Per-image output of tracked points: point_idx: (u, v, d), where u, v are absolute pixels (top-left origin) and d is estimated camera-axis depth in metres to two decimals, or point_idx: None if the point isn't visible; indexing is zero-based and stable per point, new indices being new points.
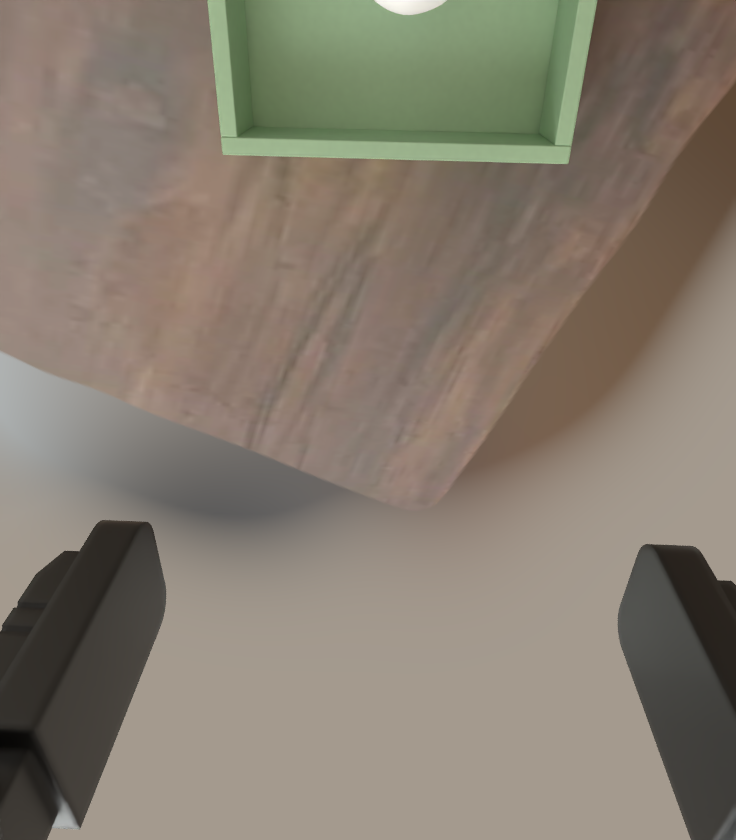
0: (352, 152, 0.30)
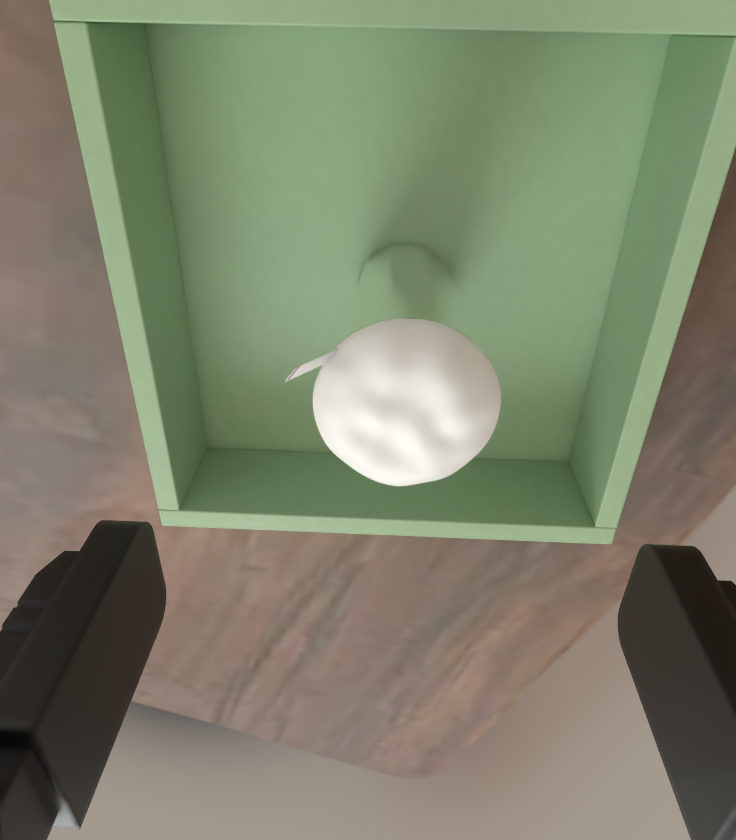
0: (329, 527, 0.23)
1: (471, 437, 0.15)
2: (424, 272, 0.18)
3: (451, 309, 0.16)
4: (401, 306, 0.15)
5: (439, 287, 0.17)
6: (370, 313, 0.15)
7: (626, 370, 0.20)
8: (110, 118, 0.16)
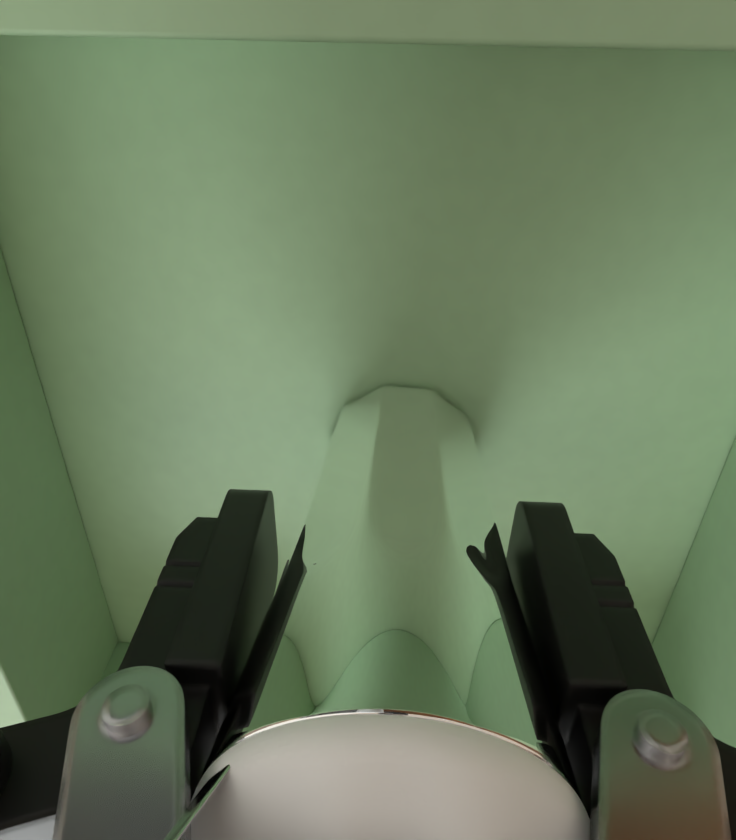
0: None
1: None
2: (433, 478, 0.10)
3: (485, 616, 0.08)
4: (379, 641, 0.07)
5: (460, 520, 0.09)
6: (312, 651, 0.07)
7: None
8: None
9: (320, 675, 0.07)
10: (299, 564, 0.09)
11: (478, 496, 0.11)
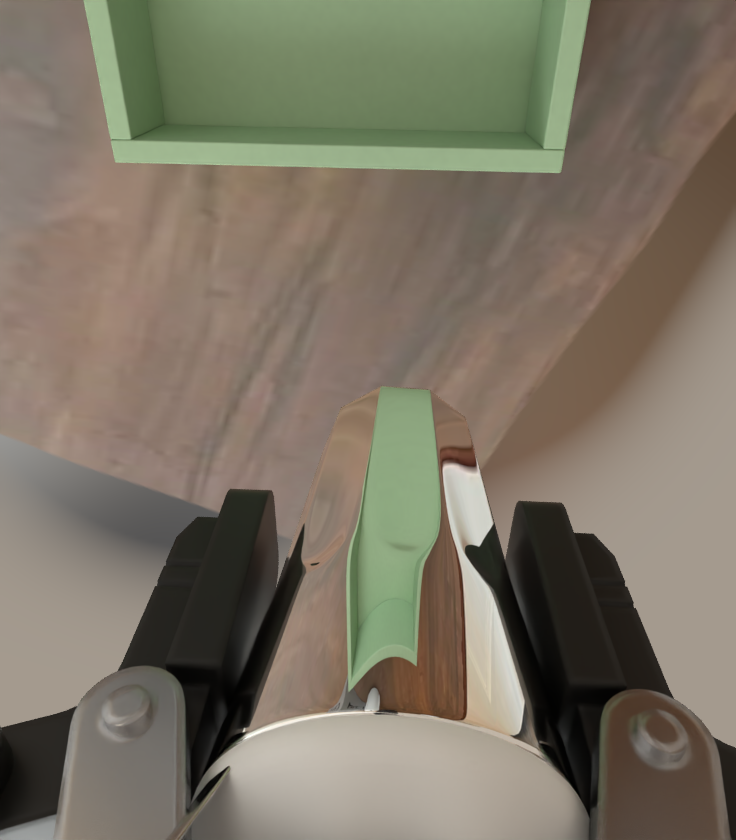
0: (280, 158, 0.23)
1: None
2: (431, 478, 0.10)
3: (484, 616, 0.08)
4: (378, 642, 0.07)
5: (458, 520, 0.09)
6: (312, 652, 0.07)
7: None
8: None
9: (320, 676, 0.07)
10: (298, 565, 0.09)
11: (476, 496, 0.11)
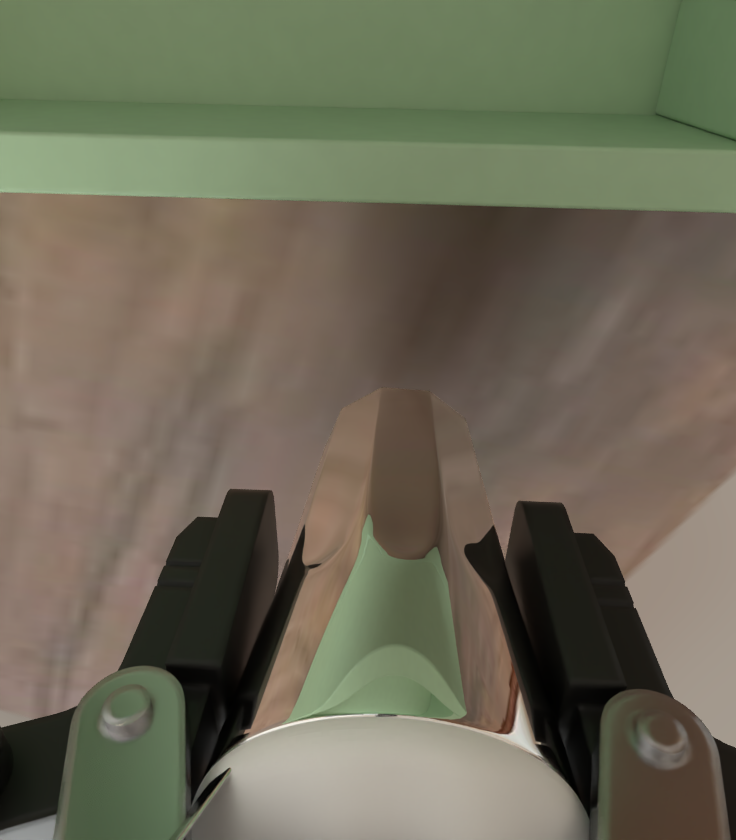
0: (40, 172, 0.09)
1: None
2: (431, 480, 0.10)
3: (484, 618, 0.08)
4: (379, 644, 0.07)
5: (458, 522, 0.09)
6: (313, 654, 0.07)
7: None
8: None
9: (320, 678, 0.07)
10: (298, 567, 0.09)
11: (476, 498, 0.11)
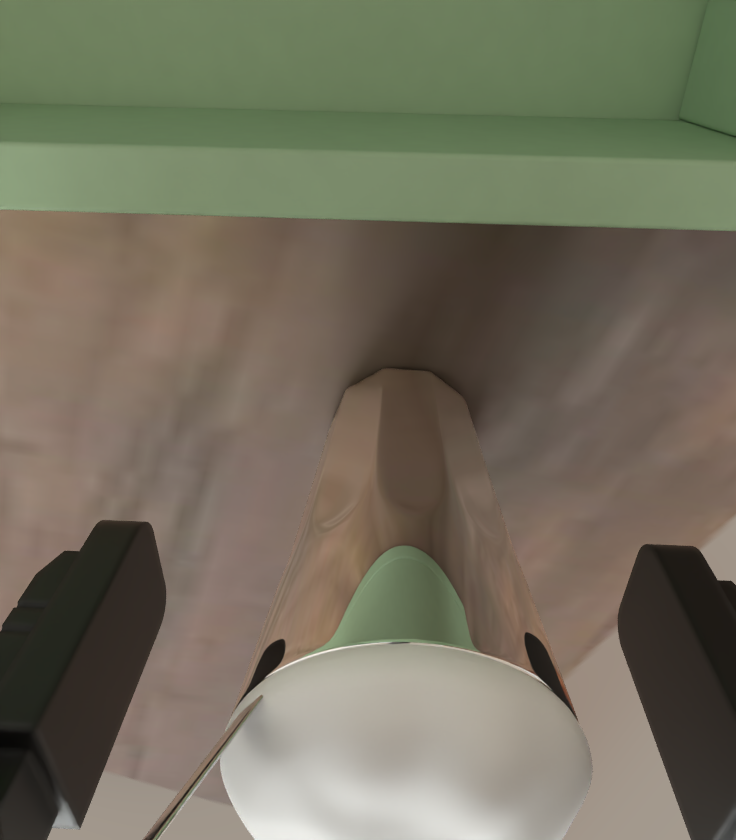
0: None
1: None
2: (435, 449, 0.11)
3: (488, 566, 0.08)
4: (394, 585, 0.08)
5: (462, 485, 0.10)
6: (333, 596, 0.08)
7: None
8: None
9: (342, 615, 0.07)
10: (314, 527, 0.10)
11: (477, 466, 0.11)
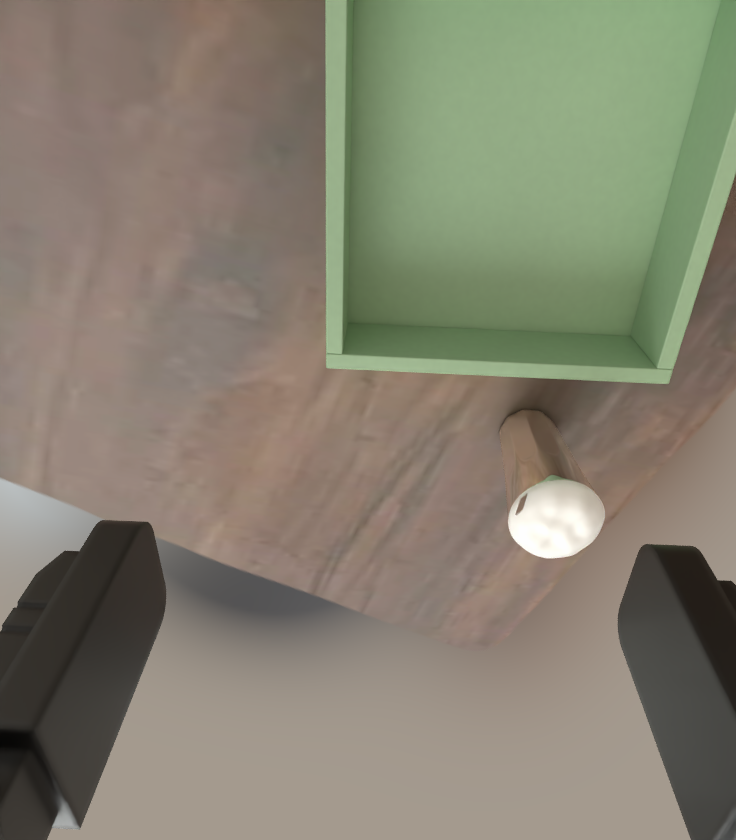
0: (455, 369, 0.30)
1: (590, 536, 0.30)
2: (552, 438, 0.33)
3: (576, 468, 0.31)
4: (555, 470, 0.30)
5: (563, 449, 0.33)
6: (539, 473, 0.30)
7: (685, 239, 0.27)
8: (347, 39, 0.23)
9: (543, 476, 0.30)
10: (520, 460, 0.32)
11: (564, 444, 0.34)
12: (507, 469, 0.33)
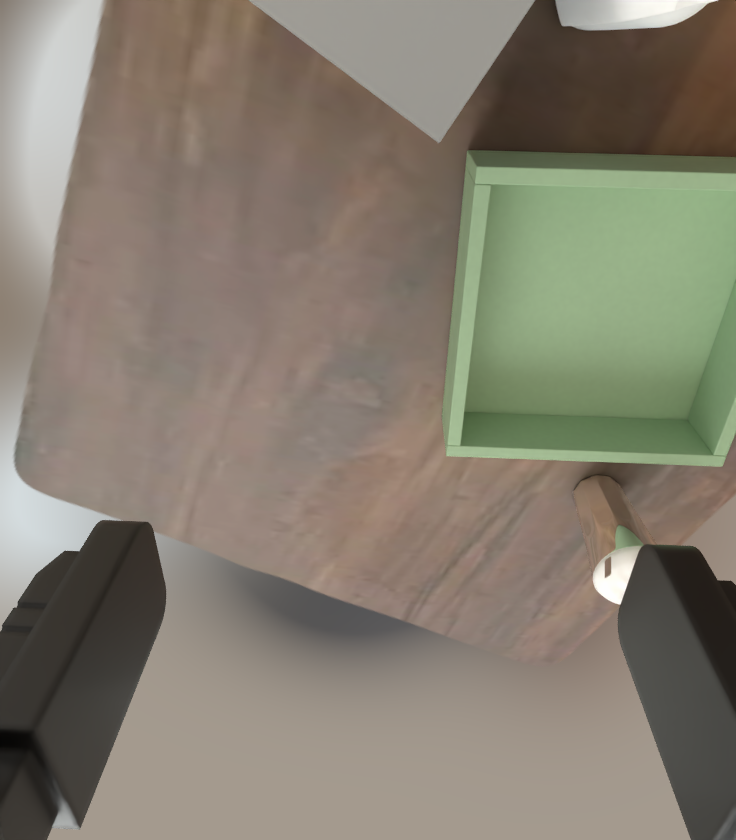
0: (550, 456, 0.38)
1: None
2: (623, 504, 0.41)
3: (647, 533, 0.38)
4: (631, 536, 0.38)
5: (633, 514, 0.40)
6: (618, 539, 0.38)
7: None
8: (485, 227, 0.31)
9: (623, 542, 0.37)
10: (600, 524, 0.40)
11: (632, 508, 0.41)
12: (587, 530, 0.41)
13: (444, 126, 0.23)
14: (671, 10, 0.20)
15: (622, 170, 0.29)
